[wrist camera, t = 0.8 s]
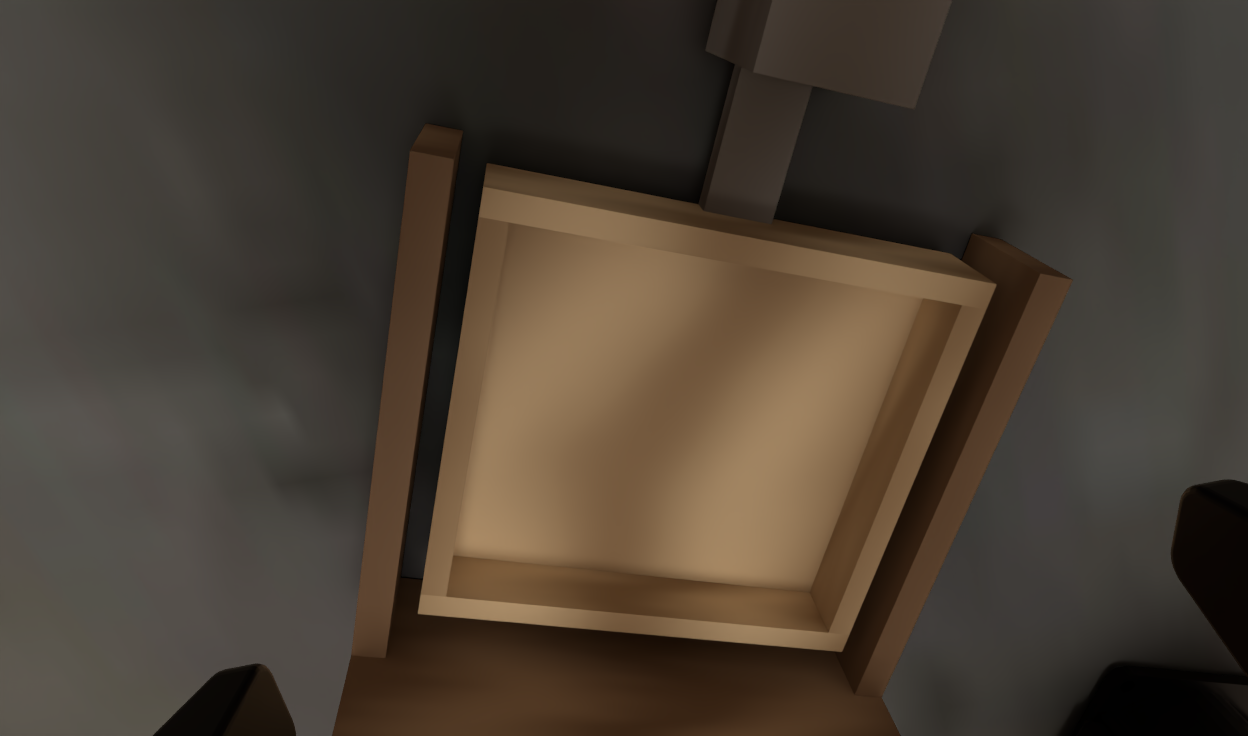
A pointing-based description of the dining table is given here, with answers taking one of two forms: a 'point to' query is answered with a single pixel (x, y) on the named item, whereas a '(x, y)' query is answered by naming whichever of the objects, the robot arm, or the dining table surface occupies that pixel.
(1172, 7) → the dining table surface
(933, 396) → the wooden drawer
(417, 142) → the open wooden box
